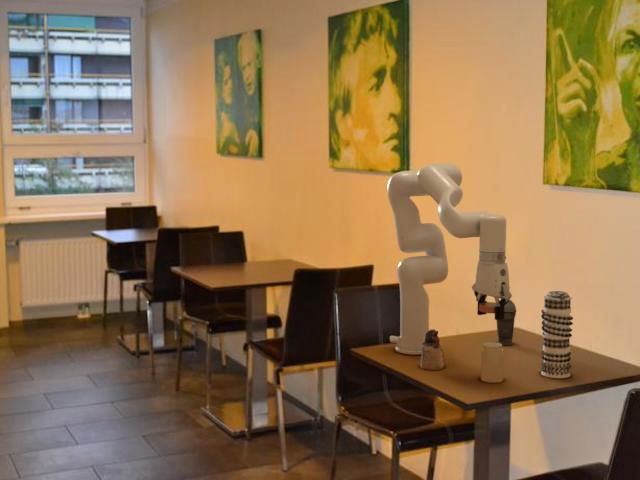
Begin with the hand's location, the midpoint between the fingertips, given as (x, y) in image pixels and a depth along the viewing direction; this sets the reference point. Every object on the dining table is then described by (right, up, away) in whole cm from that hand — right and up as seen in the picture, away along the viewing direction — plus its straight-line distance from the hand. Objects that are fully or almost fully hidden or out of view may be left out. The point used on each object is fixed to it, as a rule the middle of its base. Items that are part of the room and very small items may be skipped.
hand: (490, 316), depth 263 cm
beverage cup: (+13, -13, +44) cm, 48 cm away
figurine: (-15, -17, +14) cm, 27 cm away
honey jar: (0, -19, 0) cm, 19 cm away
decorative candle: (+20, -18, +5) cm, 28 cm away
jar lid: (0, +3, -1) cm, 3 cm away
